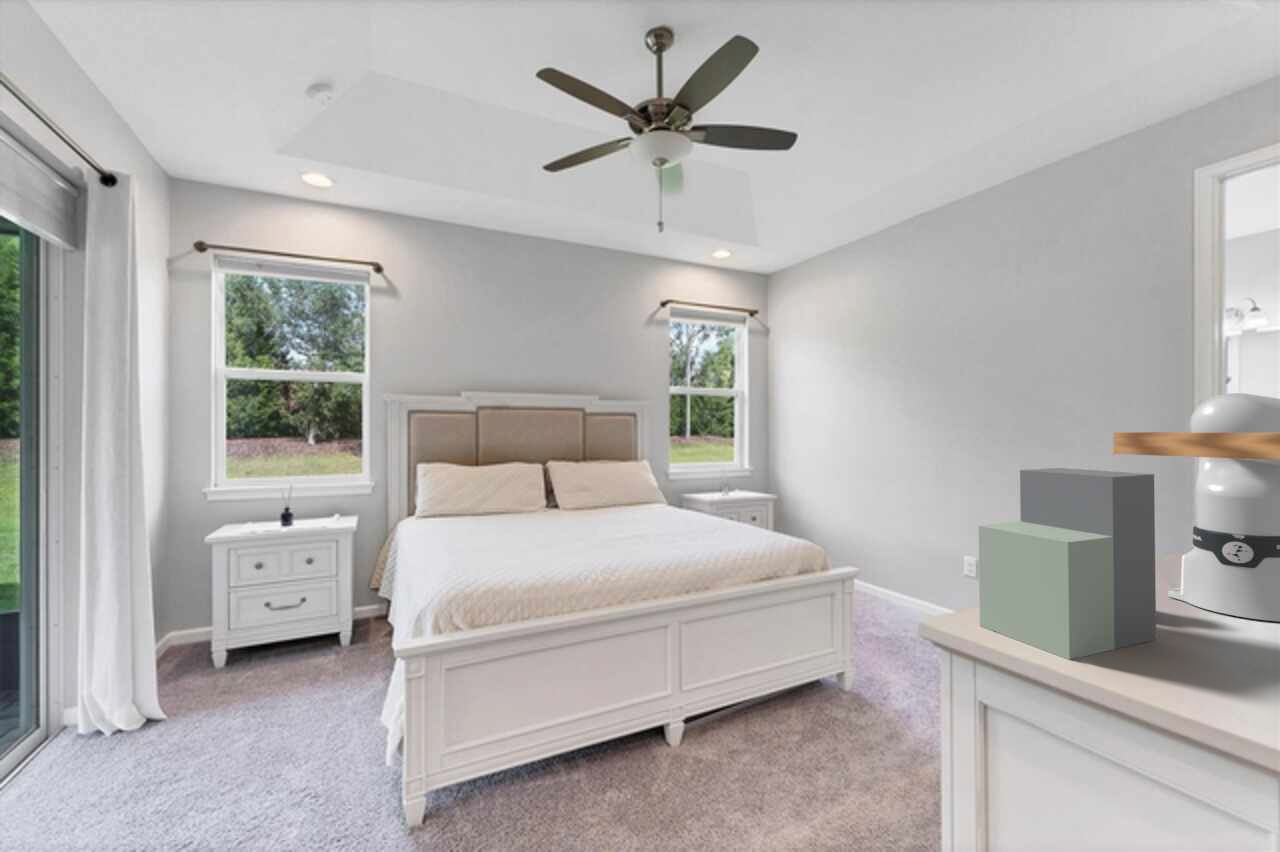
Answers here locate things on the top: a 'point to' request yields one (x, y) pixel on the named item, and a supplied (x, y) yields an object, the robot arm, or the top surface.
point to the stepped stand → (1073, 563)
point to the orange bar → (1199, 444)
